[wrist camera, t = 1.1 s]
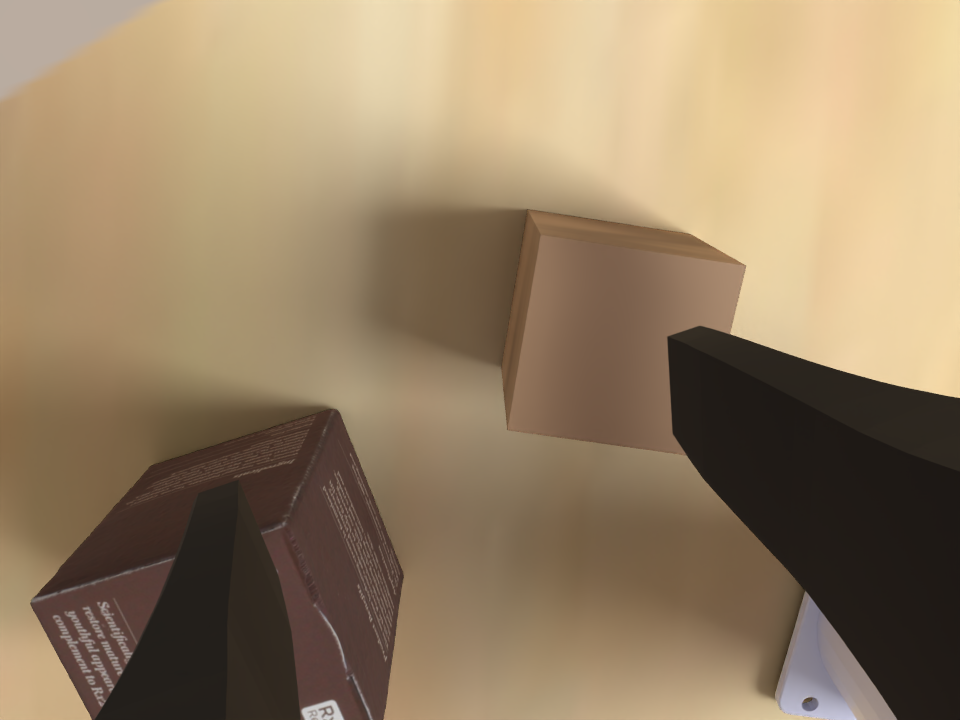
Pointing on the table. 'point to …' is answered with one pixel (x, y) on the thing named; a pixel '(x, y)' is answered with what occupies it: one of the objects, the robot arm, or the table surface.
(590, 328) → the walnut block
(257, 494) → the box
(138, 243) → the table surface
